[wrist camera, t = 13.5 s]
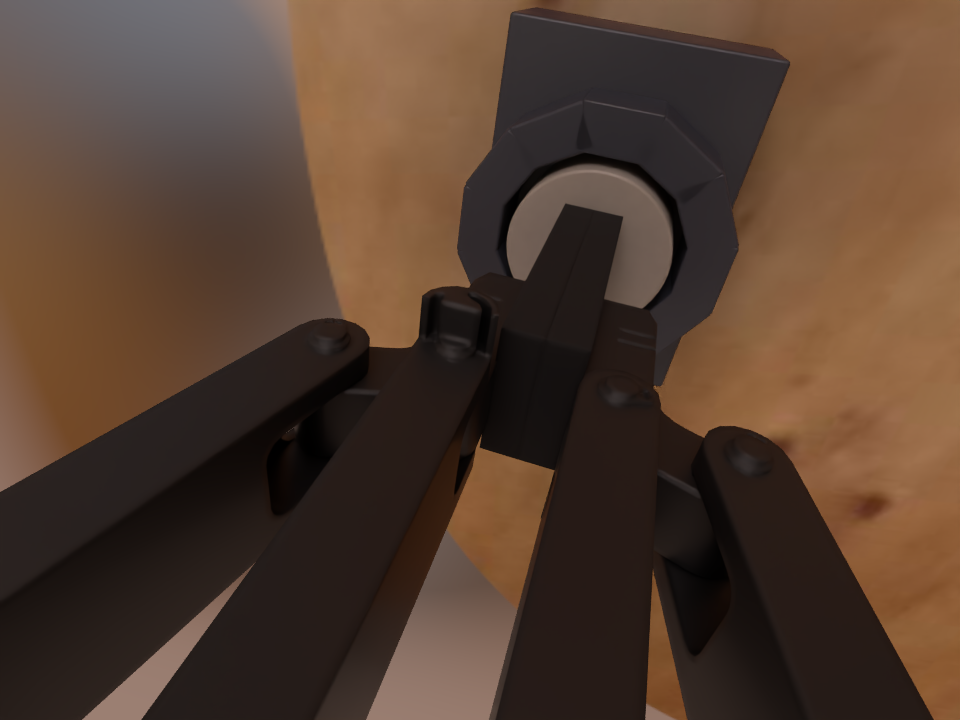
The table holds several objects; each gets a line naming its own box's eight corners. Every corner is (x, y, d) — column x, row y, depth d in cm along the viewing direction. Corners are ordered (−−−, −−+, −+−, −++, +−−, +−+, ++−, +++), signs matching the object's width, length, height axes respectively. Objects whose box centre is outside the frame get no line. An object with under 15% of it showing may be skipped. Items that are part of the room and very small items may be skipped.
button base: (529, 5, 17) (483, 13, 13) (781, 50, 16) (814, 73, 12) (484, 296, 23) (442, 363, 19) (667, 344, 22) (664, 425, 18)
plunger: (536, 136, 16) (520, 153, 14) (696, 169, 15) (697, 191, 14) (510, 277, 19) (494, 304, 17) (647, 311, 18) (644, 343, 16)
